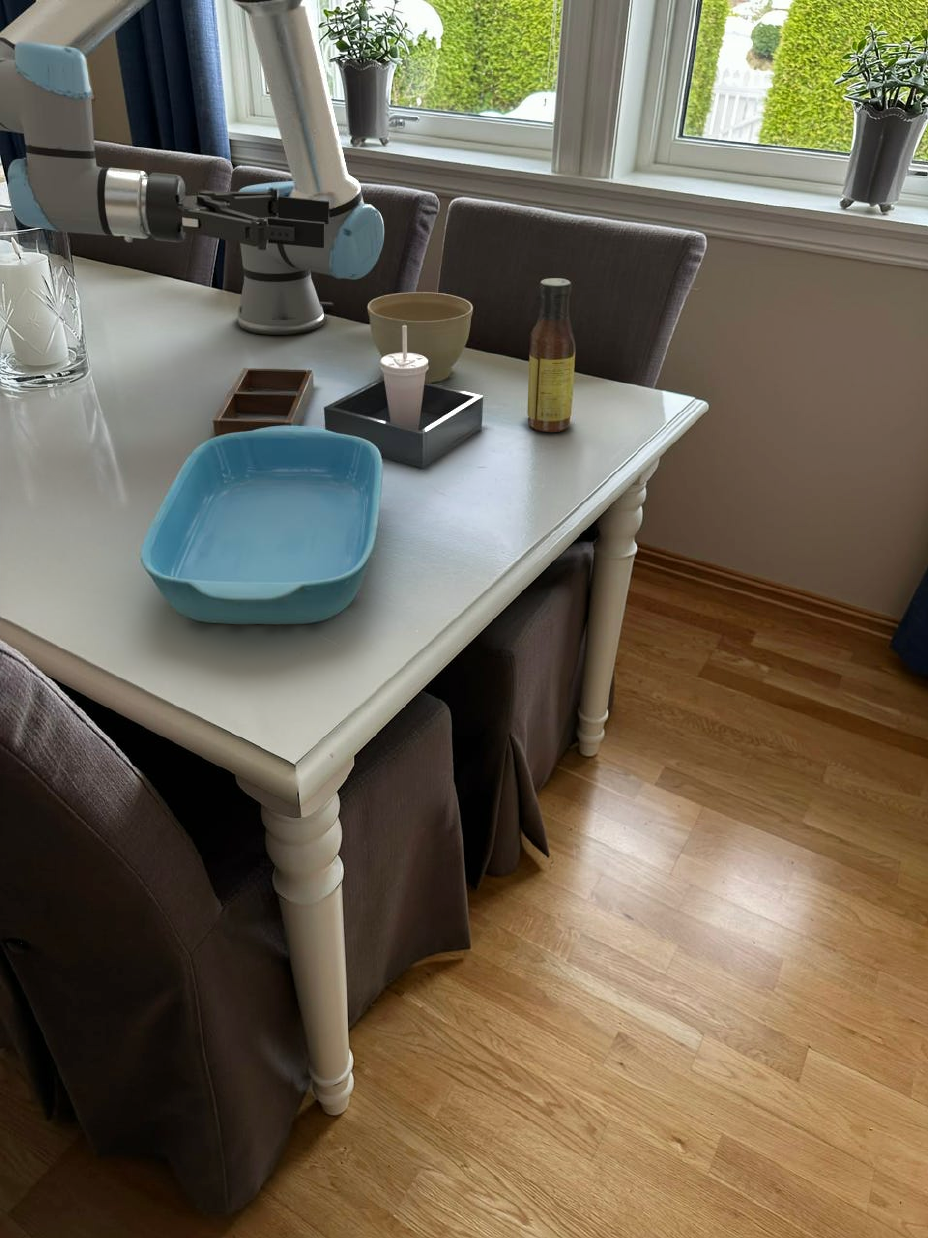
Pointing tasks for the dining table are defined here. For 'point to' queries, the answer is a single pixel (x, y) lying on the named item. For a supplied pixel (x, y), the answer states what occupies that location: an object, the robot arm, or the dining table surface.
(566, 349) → the sauce bottle
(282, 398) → the brown shallow wooden box
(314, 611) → the casserole dish
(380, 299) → the planter bowl
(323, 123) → the robot arm
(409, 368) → the smoothie
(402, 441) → the dark grey square tray
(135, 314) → the dining table surface
